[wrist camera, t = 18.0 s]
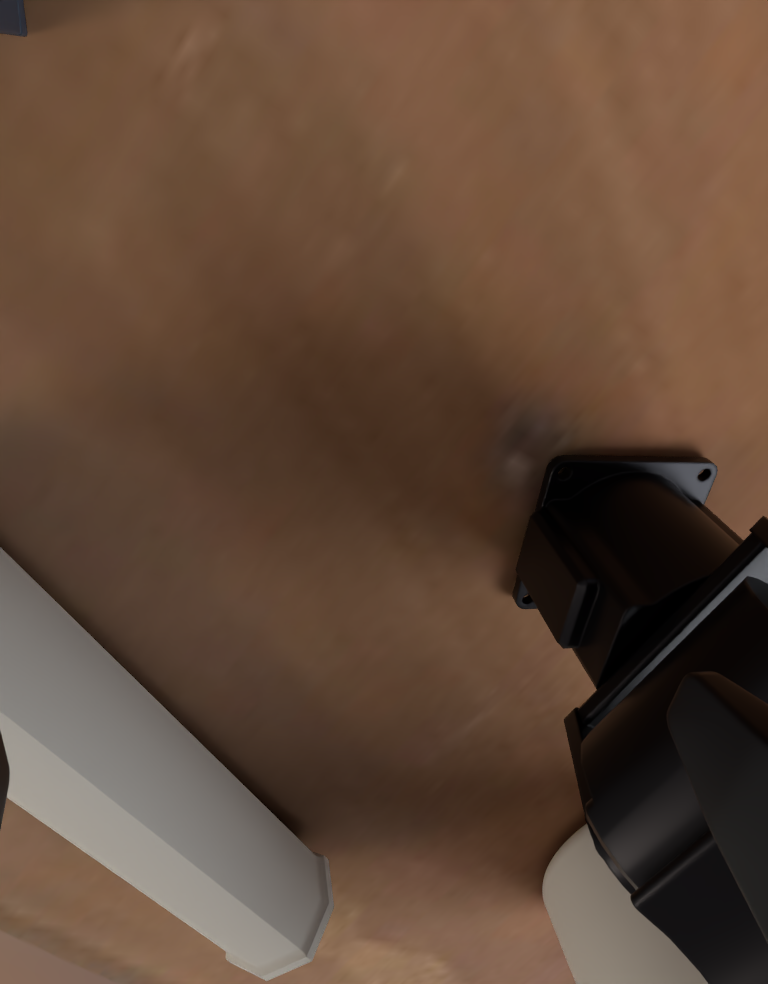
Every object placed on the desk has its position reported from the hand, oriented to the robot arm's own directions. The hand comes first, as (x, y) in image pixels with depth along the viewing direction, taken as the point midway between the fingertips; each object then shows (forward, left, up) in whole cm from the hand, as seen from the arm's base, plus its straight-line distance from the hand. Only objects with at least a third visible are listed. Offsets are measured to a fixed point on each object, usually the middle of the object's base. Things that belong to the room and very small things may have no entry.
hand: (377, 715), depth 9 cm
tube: (+6, +14, -13) cm, 20 cm away
